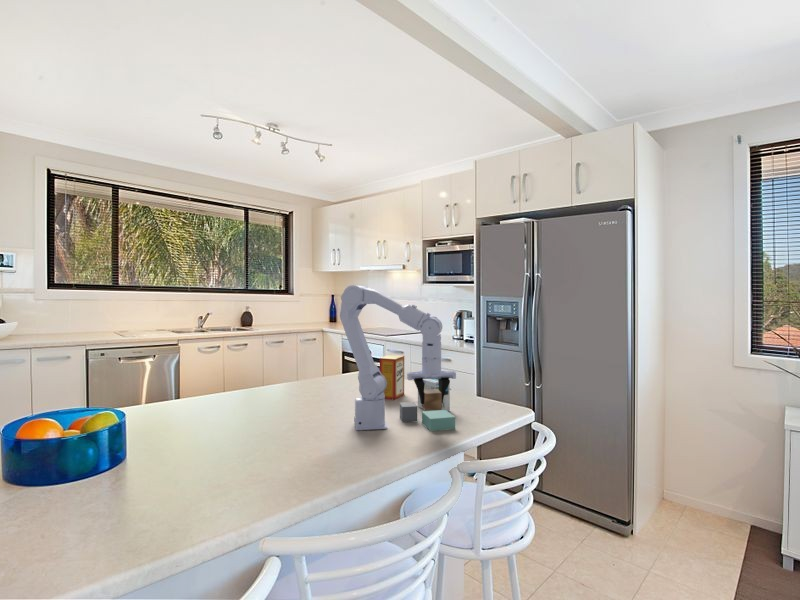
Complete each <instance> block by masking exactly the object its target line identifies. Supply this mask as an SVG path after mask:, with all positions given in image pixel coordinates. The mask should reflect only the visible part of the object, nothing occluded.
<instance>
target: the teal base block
mask: <svg viewBox="0 0 800 600" xmlns="http://www.w3.org/2000/svg"><path fill="white" fill-rule="evenodd" d="M422 423H423V424H424V425H425V426H426V427H427V428H428V429H429V432H437V431H436V430H439V431H447V430H446V429H451V430H456V416H455V415H453V414H452V413H450V412H449V411H447V410H437V411H428V410H427V411H425V410H424V411H421V424H422ZM423 424H422V425H423ZM424 425H423V426H424ZM425 426H424V427H425ZM426 427H425V428H426ZM427 428H426V429H427ZM428 429H427V430H428Z"/></svg>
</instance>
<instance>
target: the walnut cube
mask: <svg viewBox="0 0 800 600" xmlns="http://www.w3.org/2000/svg"><path fill="white" fill-rule="evenodd" d="M422 407H423V408H422V409H423V410H424V411H428V410H442V393H441V392H440V391H439V390H438V389H427V390H424V404H422Z"/></svg>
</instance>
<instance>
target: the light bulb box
mask: <svg viewBox="0 0 800 600" xmlns="http://www.w3.org/2000/svg"><path fill="white" fill-rule="evenodd" d="M423 380H424V383H425V384H424V390H427V389H438V390H439V382H438V379H423ZM450 383H451V382H450ZM450 383H449V385H448V387H447V389H446V392H445V395H444V398H443V403H442V410H447V411H448V412H449V410H450V411H451V409H450V408H451V407H450V405H451V403H450V400H451V399H450V398H451V396H450V395H451V391H450V388H451V387H450V385H451V384H450ZM417 408H420V409H423V407H422V404H421V402H420V396H419V392H418V391H417ZM427 411H437V410H427Z"/></svg>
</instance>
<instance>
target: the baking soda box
mask: <svg viewBox="0 0 800 600" xmlns="http://www.w3.org/2000/svg"><path fill="white" fill-rule="evenodd" d="M379 370H380V372H381V374H382V375H383V376H384V377H385V378H386V381H387V386H386V388H385V390H384V391H383V392H384V395H385V400H392V399H393V400H392V401H395V399H396V400H397V399H398V398H400V396H401V397H402V396H404V395H405V355H398V354H397V355H395V354H388V355H383V356H381V357H380V358H379Z"/></svg>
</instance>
